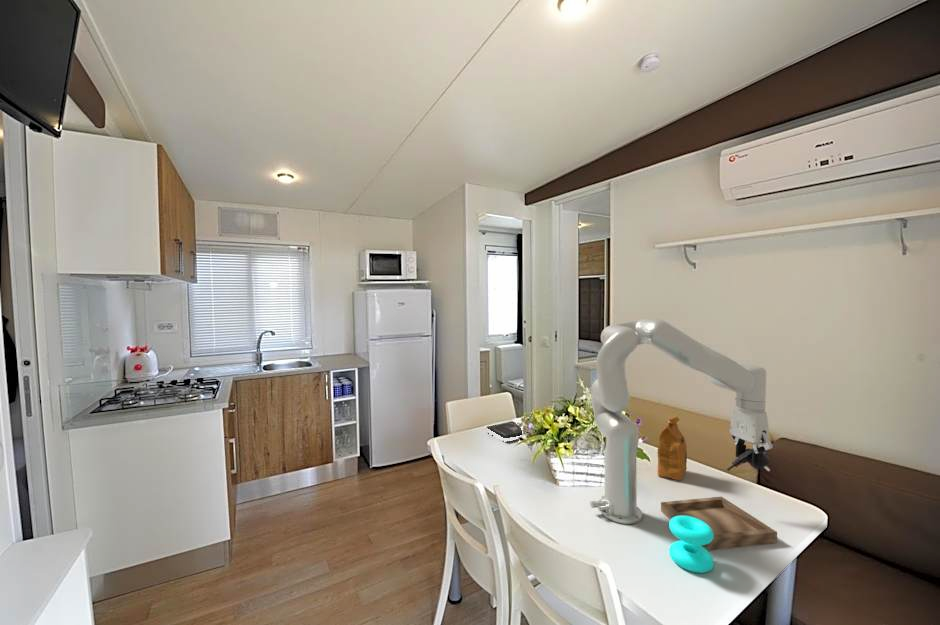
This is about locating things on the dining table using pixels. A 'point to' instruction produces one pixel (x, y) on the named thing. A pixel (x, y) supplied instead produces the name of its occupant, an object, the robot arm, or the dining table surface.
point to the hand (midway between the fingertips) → (748, 460)
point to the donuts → (691, 543)
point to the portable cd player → (506, 429)
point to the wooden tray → (723, 522)
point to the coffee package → (672, 451)
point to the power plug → (749, 460)
